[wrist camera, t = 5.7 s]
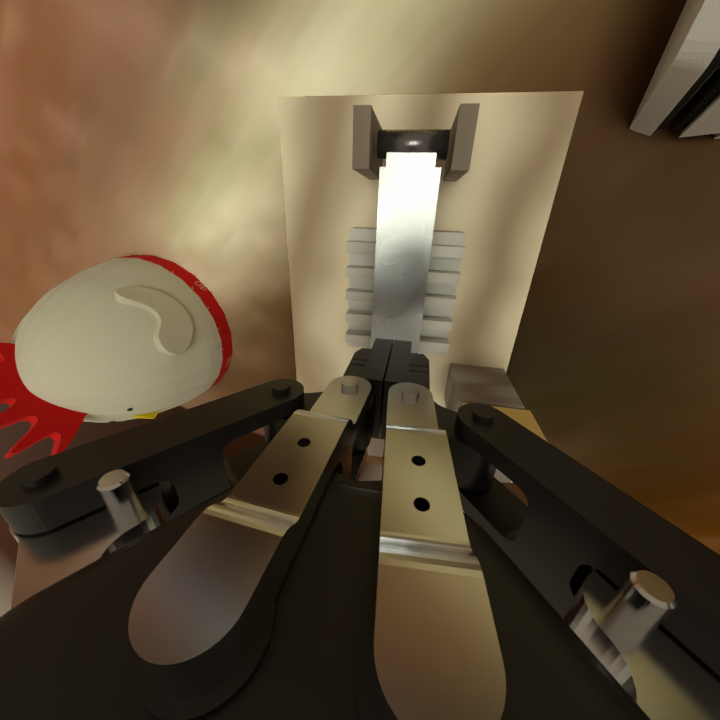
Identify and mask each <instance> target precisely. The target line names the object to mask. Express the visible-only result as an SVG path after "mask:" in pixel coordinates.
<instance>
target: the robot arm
mask: <svg viewBox="0 0 720 720" xmlns="http://www.w3.org/2000/svg"><path fill="white" fill-rule="evenodd" d="M411 346H412V341H403V340H394V344H393V339H382V338H376V339H375V341H374V344H373V346H372V349H370V348H361V349H359V350H358V351H356V352H355V353H354V355H353V357H352V359H351V361H350V363H349V365H348V367H347V369H346V371H345V373H344V375H343V376H342V377H338V378H336V379H334V380H332V381H331V382H330V383H329V385H328V386H327V387H326V389H325V390H324V391H323V392H314V393H304V387H303V385H302V384H301V383H300V382H298V381H296V380H292V379H278V380H273V381H270V382H267V383H264V384H261V385H258V386H255V387H252V388H249V389H247V390H244V391H241V392H238V393H235V394H232V395H229V396H226V397H223V398H220V399H217V400H214V401H211V402H208V403H205V404H202V405H199V406H196V407H193V408H190V409H187V410H185V411H182V412H179V413H176V414H173V415H170V416H167V417H164V418H161V419H158V420H155V421H152V422H149V423H146V424H143V425H140V426H138V427H134V428H131V429H128V430H125V431H122V432H119V433H117V434H114V435H111V436H108V437H105V438H102V439H99V440H96V441H93V442H90V443H87V444H84V445H81V446H78V447H75V448H72V449H69V450H66V451H63V452H60V453H57V454H54V455H51V456H49V457H46V458H43V459H40V460H37V461H34V462H32V463H30V464H28V465H26V466H24V467H22V468H20V469H18V470H16V471H15V472H13V473H12V474H10V475H9V476H7V477H6V478H5V479H4V480H2V481H1V482H0V514H1V515H2V516H3V518H4V519H5V521H6V522H7V523H8V524H9V526H10V532H11V533H12V535H13V536H14V538H15V539H16V540H17V542H18V543H19V547H18V555H17V564H16V573H15V581H14V588H13V597H12V605H11V610H10V611H8V612H7V613H5V614H4V615H3V616H1V617H0V720H720V555H719V554H717V553H716V552H714V551H713V550H711V549H709V548H708V547H706V546H705V545H703V544H702V543H700V542H699V541H697V540H696V539H694V538H693V537H691V536H690V535H688V534H687V533H685V532H684V531H682V530H681V529H679V528H678V527H676V526H675V525H673V524H671V523H670V522H668V521H667V520H665V519H664V518H662V517H661V516H659V515H658V514H656V513H655V512H653V511H652V510H650V509H649V508H647V507H646V506H644V505H643V504H641V503H640V502H638V501H636V500H635V499H633V498H632V497H630V496H629V495H627V494H626V493H624V492H623V491H621V490H620V489H618V488H617V487H615V486H614V485H612V484H611V483H609V482H608V481H606V480H605V479H603V478H601V477H600V476H598V475H597V474H595V473H594V472H592V471H591V470H589V469H588V468H586V467H585V466H583V465H582V464H580V463H579V462H577V461H576V460H574V459H573V458H571V457H570V456H568V455H566V454H565V453H563V452H562V451H560V450H559V449H557V448H556V447H554V446H553V445H551V444H550V443H548V442H547V441H545V440H544V439H542V438H541V437H539V436H538V435H536V434H535V433H533V432H531V431H530V430H528V429H527V428H525V427H524V426H522V425H521V424H519V423H518V422H516V421H515V420H513V419H512V418H510V417H509V416H507V415H506V414H504V413H503V412H501V411H499V410H498V409H496V408H494V407H491V406H489V405H485V404H480V403H468V404H465V405H462V406H461V407H460V408H459V409H458V412H455V411H452V410H449V409H447V408H444V407H442V406H440V405H439V404H437V403H436V402H435V401H434V400H433V395H432V393H431V391H430V374H429V359H428V358H427V357H426V356H425V355H424V354H418V353H411ZM262 427H264V432H265V439H266V440H265V441H263V442H261V443H259V444H257V445H255V446H252V447H250V448H248V449H246V450H244V451H241V452H239V453H237V454H235V455H233V456H230V457H228V458H226V459H223V454H222V453H223V449H224V447H225V446H226V445H227V444H228V443H229V442H230V441H232V440H234V439H236V438H238V437H241V436H243V435H245V434H248V433H250V432H252V431H255V430H257V429H259V428H262ZM380 429H381V438H380V439H384V451H383V464H382V479H381V481H359V478H360V475H361V472H362V469H363V467H364V464H365V461H366V458H367V455H368V446H369V444H370V441H371V437H373V438H379V434H380ZM496 468H497V469H498V470H499V471H500V472H501V473H503V474H504V475H505V476H506V477H507V478H508V479H510V480H511V481H512V482H513V483H514V484H515V485H517V486H518V487H519V488H520V489H521V490H522V491H523V493H524V494H525V496H526V498H527V501H528V506H527V505H525V504H524V503H523V502H522V501H521V500H520V499H519V498H518V497H516V496H515V495H514V494H513V493H512V492H511V491H510V490H508V489H507V488H506V487H505V486H504V485H503V484H502V483H501V482H499V481H498V480H497V479H496V478H495V477H494V475H495V471H496ZM463 511H464V512H465V513H464V512H463Z"/></svg>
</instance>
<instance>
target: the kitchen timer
mask: <svg viewBox="0 0 720 720" xmlns="http://www.w3.org/2000/svg"><path fill="white" fill-rule="evenodd" d="M231 355H232V341H231V332H230V329H229V326H228V323H227V320H226V317H225V314H224V312H223V311H222V309H221V307H220V306H219V304H218V303H217V301H216V299H215V298H214V296H213V295H212V293H211V292H210V291H209V290H208V289H207V288H206V287H205V286H204V285H203V284H202V283H201V282H200V281H199V280H198V279H197V278H196V277H195V276H194V275H193V274H191V273H189V272H188V271H186V270H185V269H183V268H182V267H180V266H179V265H177V264H176V263H174V262H171V261H168V260H165V259H162V258H159V257H156V256H150V255H132V256H125V257H119V258H114V259H111V260H108V261H106V262H103V263H100V264H98V265H95V266H93V267H90V268H88V269H85V270H83V271H81V272H79V273H78V274H76V275H74V276H72V277H71V278H69V279H67V280H66V281H64V282H62V283H61V284H59V285H57V286H56V287H54V288H53V289H51V290H50V291H49V292H47V293H46V294H45V295H44V296H43V297H42V298H41V299H40V300H39V301H38V302H37V303H36V304H35V305H34V306H33V308H32V309H31V310H30V311H29V312H28V313H27V315H26V316H25V317H24V318H23V320H22V321H21V322H20V324H19V325H18V327H17V329H16V331H15V333H14V335H13V338H12V341H11V343H0V404H3V403H7V404H9V405H10V408H9V409H7V410H5V411H4V412H2V413H1V414H0V429H1V428H4V427H7V426H10V425H12V424H15V423H18V422H21V421H28V422H30V423H31V428H30V430H29V431H28V432H27V433H26V434H25V435H24V436H23V437H22V438H21V439H20V440H19V441H18V442H17V443H16V444H15V445H14V446H13V447H12V448H11V449H10V451H8V453H7V454H6V455H5V458H9V457H12V456H14V455H16V454H18V453H20V452H21V451H23V450H25V449H27V448H28V447H30V446H32V445H34V444H35V443H37V442H39V441H41V440H43V439H44V438H47V437H50V438H52V439H53V440H54V447H53V450H52V453H51V455H54V454H57V453H60V452H63V451H64V450H65V448H66V447H67V446H68V445H69V443H70V442H71V440H72V439H73V437H74V435H75V434H76V432H77V430H78V428H79V427H80V425H81V423H82V422H83V421H86V422H110V423H112V422H117V421H125V420H130V419H136V418H147V419H154V418H155V417H156V415H157V414H158V413H160V412H162V411H165V410H168V409H171V408H174V407H176V406H179V405H181V404H184V403H186V402H188V401H190V400H192V399H193V398H195V397H197V396H198V395H200V394H202V393H203V392H205V391H206V390H208V389H209V388H211V387H212V386H213V385H214V384H216V383H217V382H218V381H219V380H220V379H221V377H222V376H223V375H224V373H225V372H226V370H227V369H228V367H229V363H230V359H231ZM51 455H50V456H51Z"/></svg>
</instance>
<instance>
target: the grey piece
mask: <svg viewBox="0 0 720 720" xmlns="http://www.w3.org/2000/svg"><path fill="white" fill-rule="evenodd" d="M687 102H688V103H687ZM686 103H687V105H686V107H685V109H684V111H683V113H682V115H681V117H680V119H679V121H678V123H677V125H676V127H675V129H679V130H682V132H681V134H680V136H679V138H680V137H689V136H698V135H707V134H715V136H714V138H713V139H720V0H687V1H686V4H685V6H684V8H683V10H682V12H681V15H680V17H679V19H678V21H677V24H676V26H675V28H674V30H673V32H672V35H671V37H670V39H669V41H668V44H667V46H666V48H665V50H664V52H663V55H662V57H661V59H660V61H659V63H658V66H657V68H656V70H655V72H654V75H653V77H652V79H651V81H650V83H649V86H648V88H647V90H646V92H645V95H644V97H643V99H642V101H641V103H640V106H639V108H638V110H637V112H636V115H635V117H634V119H633V121H632V123H631V126H630V128H629V129H631V130H633V131H635V132H637V133H641V134H644V135H648V136H651V135H652V133H653V132H654V131H655V130H656V129H664V128H665V127H666V126H667V125H668V124H669V123H670V121H671V120H672V119H673V118H674V117H675V116H676V115H677V113H678V112H679V111H680V110H681V109H682V108H683V107H684V106H685V104H686Z"/></svg>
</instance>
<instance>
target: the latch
mask: <svg viewBox="0 0 720 720" xmlns="http://www.w3.org/2000/svg"><path fill="white" fill-rule="evenodd" d="M465 404H468V403H462V404H461V406H462V405H465ZM491 407H494V408H496V409H498V410H499V411H501V412H503V413H504V414H506V415H507V416H509V417H510V418H512V419H513V420H515V421H516V422H518V423H519V424H521V425H522V426H524V427H525V428H527V429H528V430H530V431H531V432H533V433H535V434H536V435H538V436H539V437H541V438H542V439H544V440H545V441H547V440H546V438H545V436H544V435H543V433H542V431H541V429H540V427H539V426H538V424H537V422H536V420H535V418H534V417H533V415H532V413H531V411H529V410H520V409H512V408H504V407H495V406H491ZM494 477H495V478H496V479H497V480H498V481H499V482H511V483H513V482H512V481H511V480H510V479H508V478H507V477H506V476H505V475H504V474H503V473H501V472H500V471H499V470H498V469H497V468H496V471H495V475H494Z"/></svg>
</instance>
